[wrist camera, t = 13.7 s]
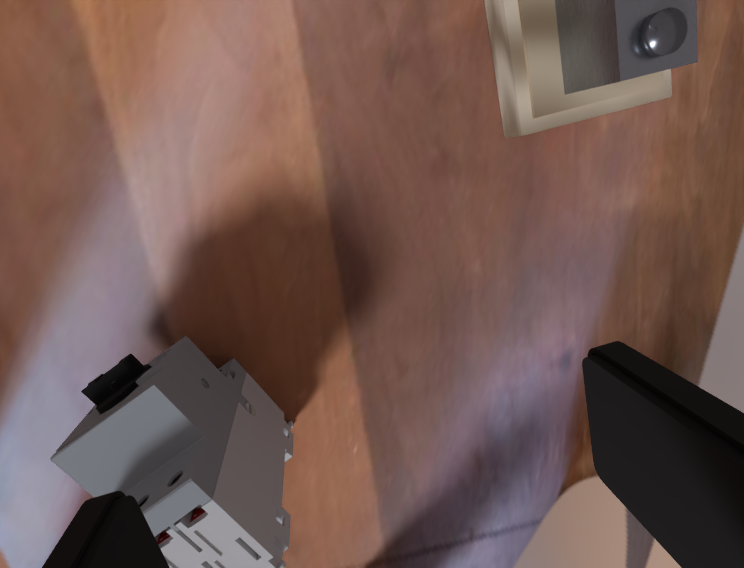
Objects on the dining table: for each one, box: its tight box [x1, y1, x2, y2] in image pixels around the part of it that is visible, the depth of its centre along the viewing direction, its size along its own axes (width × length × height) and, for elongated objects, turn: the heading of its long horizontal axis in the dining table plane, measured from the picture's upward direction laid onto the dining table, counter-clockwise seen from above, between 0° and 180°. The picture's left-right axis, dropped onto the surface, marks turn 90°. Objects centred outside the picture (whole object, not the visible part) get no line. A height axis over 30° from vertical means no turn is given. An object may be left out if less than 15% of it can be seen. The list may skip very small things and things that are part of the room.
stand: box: [484, 0, 672, 138], centre depth 33 cm, size 12×12×3 cm
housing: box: [555, 0, 698, 95], centre depth 28 cm, size 8×5×7 cm, turn 14°
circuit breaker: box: [50, 336, 294, 568], centre depth 31 cm, size 8×14×15 cm, turn 34°
